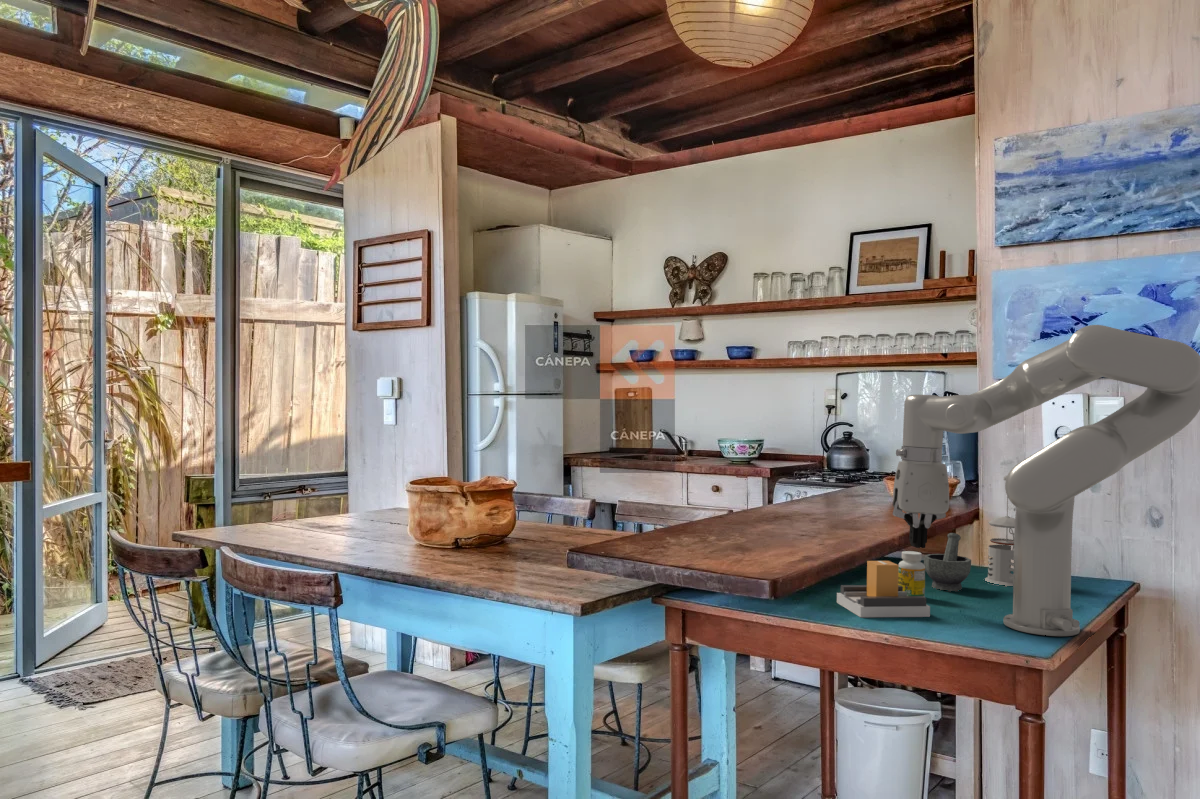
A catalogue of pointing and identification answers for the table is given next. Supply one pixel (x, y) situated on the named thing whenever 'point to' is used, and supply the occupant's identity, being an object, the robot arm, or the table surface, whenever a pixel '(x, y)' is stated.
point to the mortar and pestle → (948, 566)
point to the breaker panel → (882, 609)
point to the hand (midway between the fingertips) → (917, 546)
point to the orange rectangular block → (882, 578)
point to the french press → (1001, 553)
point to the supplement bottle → (912, 574)
